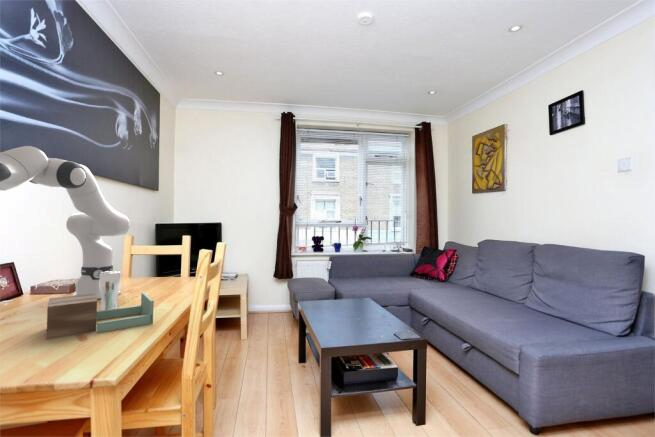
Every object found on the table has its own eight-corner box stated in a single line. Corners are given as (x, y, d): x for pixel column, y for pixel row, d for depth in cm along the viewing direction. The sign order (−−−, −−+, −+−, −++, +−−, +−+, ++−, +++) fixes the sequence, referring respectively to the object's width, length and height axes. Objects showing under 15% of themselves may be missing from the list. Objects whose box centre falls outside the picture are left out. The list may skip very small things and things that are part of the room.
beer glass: (108, 312, 120) (109, 274, 120) (93, 311, 122) (95, 273, 122) (123, 307, 127) (124, 271, 127) (109, 306, 128) (110, 270, 129)
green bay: (92, 320, 111) (93, 297, 111) (143, 312, 122) (144, 292, 122) (96, 332, 99) (97, 307, 99) (152, 323, 110) (153, 300, 110)
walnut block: (48, 328, 102) (49, 298, 102) (93, 321, 110) (94, 293, 110) (46, 340, 93) (47, 306, 93) (96, 331, 101) (97, 300, 101)
